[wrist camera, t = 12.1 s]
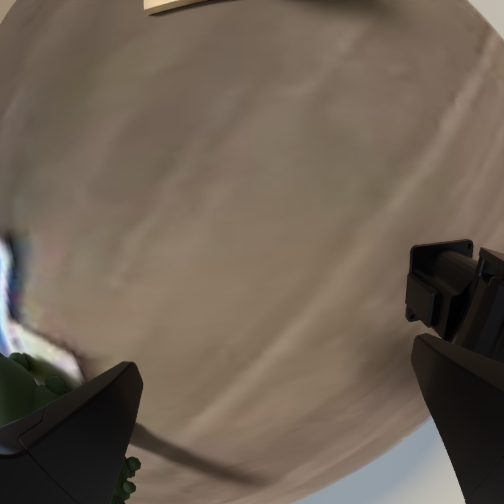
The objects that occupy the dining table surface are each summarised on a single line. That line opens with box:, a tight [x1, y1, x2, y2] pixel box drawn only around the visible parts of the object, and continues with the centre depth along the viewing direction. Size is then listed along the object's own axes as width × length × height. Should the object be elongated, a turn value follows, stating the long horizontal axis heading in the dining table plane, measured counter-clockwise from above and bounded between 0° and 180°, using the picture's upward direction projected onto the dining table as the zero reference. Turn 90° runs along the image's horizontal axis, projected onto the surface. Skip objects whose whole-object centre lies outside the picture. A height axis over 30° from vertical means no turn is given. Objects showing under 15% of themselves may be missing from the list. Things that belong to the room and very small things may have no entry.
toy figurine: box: [0, 353, 141, 504], centre depth 18 cm, size 9×19×25 cm
